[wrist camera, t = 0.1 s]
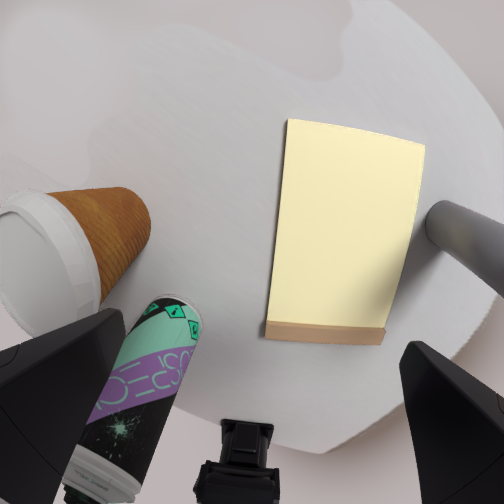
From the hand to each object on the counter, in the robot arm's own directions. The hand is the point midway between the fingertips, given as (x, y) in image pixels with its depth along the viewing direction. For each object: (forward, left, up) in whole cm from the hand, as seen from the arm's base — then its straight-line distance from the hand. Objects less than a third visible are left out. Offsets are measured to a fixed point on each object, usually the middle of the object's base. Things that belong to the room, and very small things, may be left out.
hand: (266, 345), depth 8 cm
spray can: (-10, +8, -15) cm, 20 cm away
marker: (+2, -15, -15) cm, 21 cm away
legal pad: (-1, -6, -15) cm, 16 cm away
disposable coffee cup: (-1, +13, -15) cm, 20 cm away
